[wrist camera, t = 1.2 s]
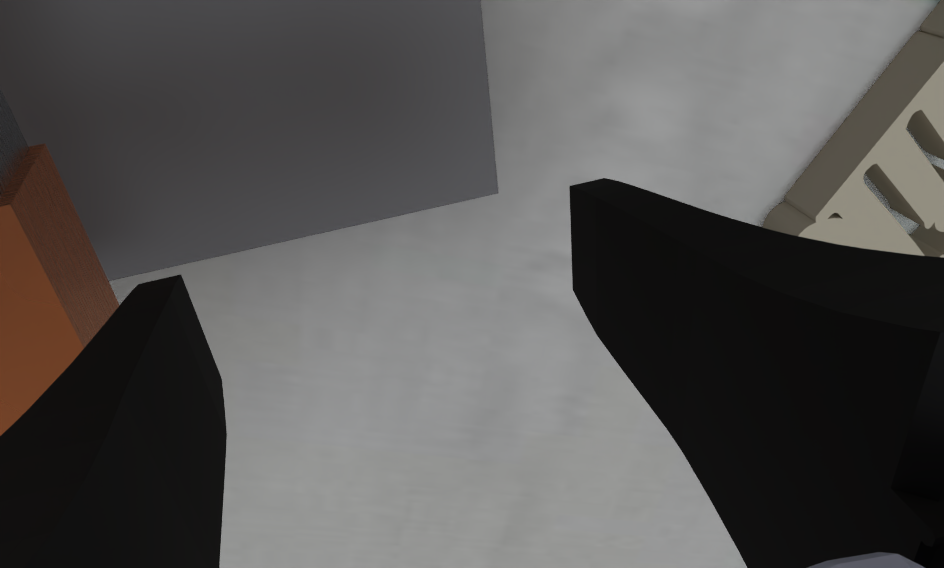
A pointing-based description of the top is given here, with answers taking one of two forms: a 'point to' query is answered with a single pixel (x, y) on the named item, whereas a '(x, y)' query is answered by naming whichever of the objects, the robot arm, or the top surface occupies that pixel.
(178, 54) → the mounting board
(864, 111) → the decorative sign
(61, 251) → the valve lever
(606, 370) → the top surface
